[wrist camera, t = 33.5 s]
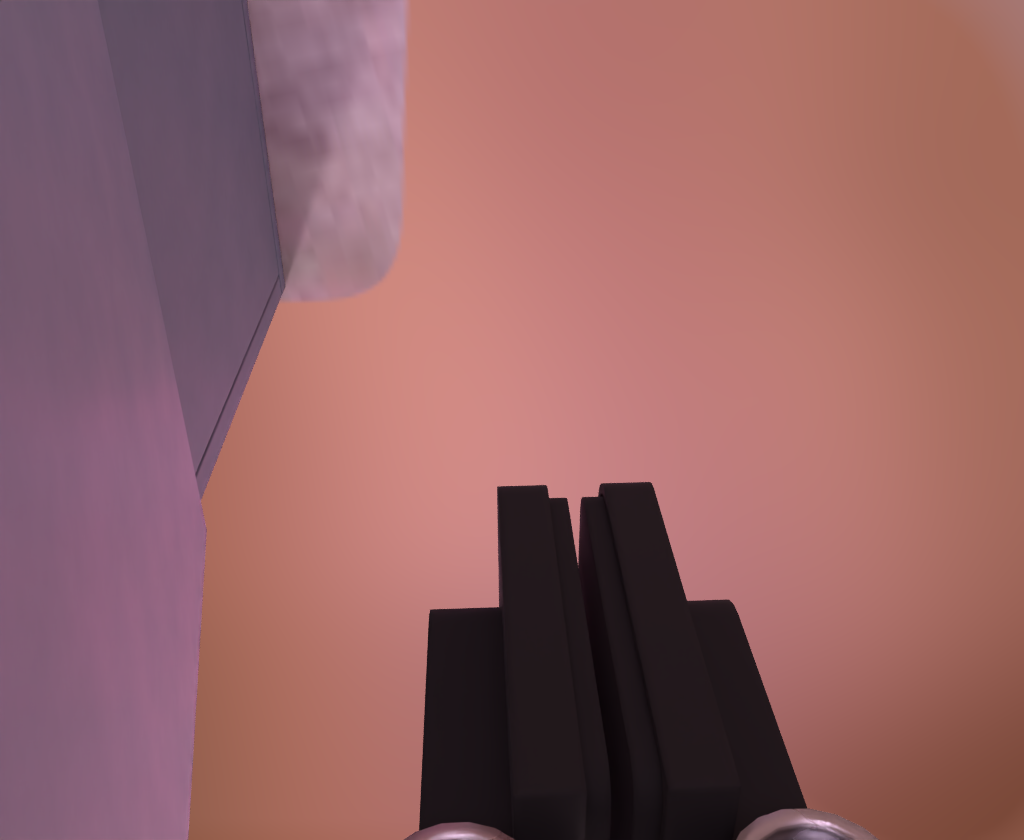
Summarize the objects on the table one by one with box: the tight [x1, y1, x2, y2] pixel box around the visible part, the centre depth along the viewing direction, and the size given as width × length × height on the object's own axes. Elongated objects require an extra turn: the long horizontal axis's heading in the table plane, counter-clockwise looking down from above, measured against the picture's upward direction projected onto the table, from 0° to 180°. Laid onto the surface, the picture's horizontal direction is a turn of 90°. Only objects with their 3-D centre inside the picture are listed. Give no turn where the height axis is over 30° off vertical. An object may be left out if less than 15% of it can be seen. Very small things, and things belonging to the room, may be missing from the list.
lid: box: [0, 0, 207, 840], centre depth 13 cm, size 15×14×1 cm
